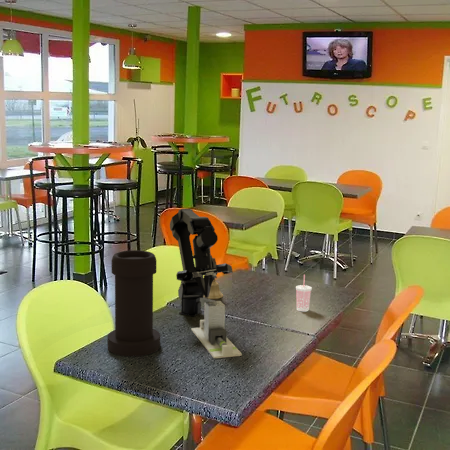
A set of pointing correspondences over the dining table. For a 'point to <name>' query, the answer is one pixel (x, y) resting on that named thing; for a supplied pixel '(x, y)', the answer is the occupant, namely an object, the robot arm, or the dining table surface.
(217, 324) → the beige tall block
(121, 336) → the pipe
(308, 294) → the beverage cup
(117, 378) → the dining table surface
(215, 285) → the hand bell
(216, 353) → the base board
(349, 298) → the dining table surface
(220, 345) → the steel pipe
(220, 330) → the dark grey notched block
